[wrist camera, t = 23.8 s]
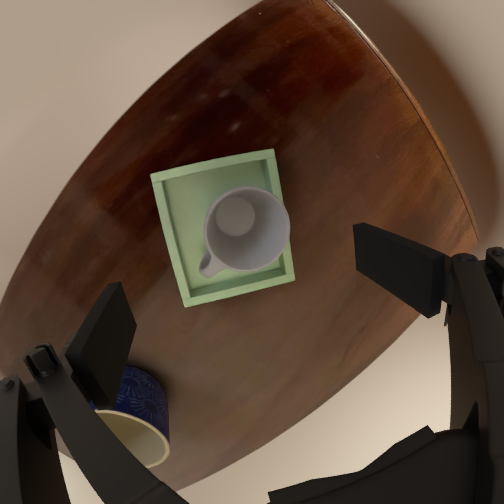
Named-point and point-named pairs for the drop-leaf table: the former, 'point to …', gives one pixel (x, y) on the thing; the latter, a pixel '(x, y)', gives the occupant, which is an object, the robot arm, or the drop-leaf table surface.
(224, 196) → the cup
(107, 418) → the planter
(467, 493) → the robot arm
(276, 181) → the tray
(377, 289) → the drop-leaf table surface
